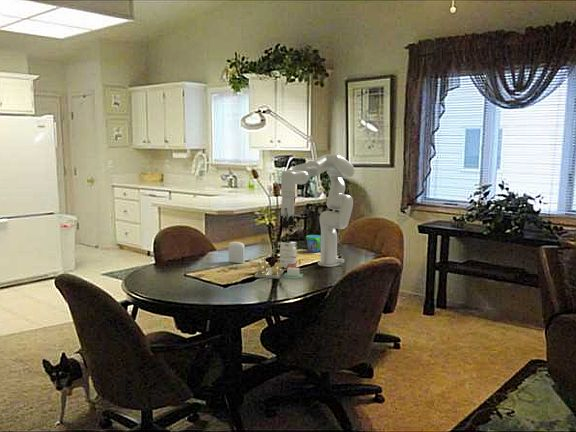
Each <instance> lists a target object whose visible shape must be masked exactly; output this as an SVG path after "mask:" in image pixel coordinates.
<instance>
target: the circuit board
mask: <svg viewBox="0 0 576 432" xmlns="http://www.w3.org/2000/svg"><path fill="white" fill-rule="evenodd" d="M286 270H287V272H284V274H282V275H283V276H282V278H285V279H287V280H288V279H290V280H291V279H293V280H297V279H303V276H304V273H301V272H300V267H296V268H292V267H288V268H286Z"/></svg>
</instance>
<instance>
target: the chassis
mask: <svg viewBox="0 0 576 432" xmlns="http://www.w3.org/2000/svg"><path fill="white" fill-rule="evenodd" d="M268 266H269V262H268V261H266V259H263V261H261V262H260V263H259V265H257V267H256V271H257V272H256V273H255V274H254V278H265V279H268V278H269V279H280V278H281V276H282V275H284V274H283V273H285V271H284V268H282V263H281V262H280V259H277V262H275V263H274V265H273V266H271V268H269V267H268Z"/></svg>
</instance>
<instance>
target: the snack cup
mask: <svg viewBox="0 0 576 432" xmlns="http://www.w3.org/2000/svg"><path fill="white" fill-rule="evenodd" d="M305 239H306V243H307V245H306V246H307V250H308V252H310V253H319V252H321V234H320V235H319V234H308V235H306V236H305Z"/></svg>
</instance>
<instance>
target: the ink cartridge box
mask: <svg viewBox="0 0 576 432" xmlns="http://www.w3.org/2000/svg"><path fill="white" fill-rule="evenodd" d="M279 247H280V248H279V262H281V263H282V267H284V268H283V269H288V267H292V268H297V247H295V246H294V244H293V242H292V243H291V242H283V241H281V242H280V246H279Z"/></svg>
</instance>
